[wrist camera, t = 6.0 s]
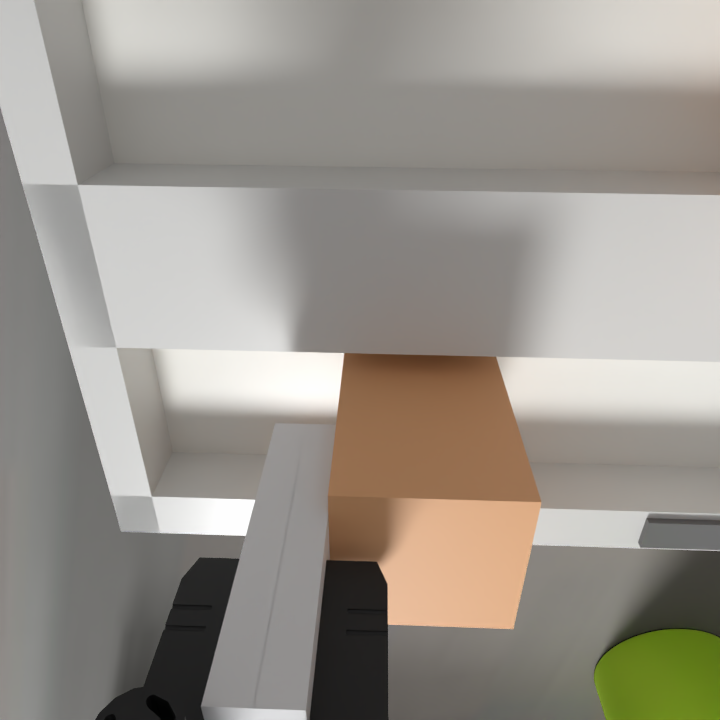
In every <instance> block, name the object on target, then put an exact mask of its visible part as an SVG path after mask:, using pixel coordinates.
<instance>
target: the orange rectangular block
mask: <svg viewBox="0 0 720 720" xmlns="http://www.w3.org/2000/svg"><path fill="white" fill-rule="evenodd" d="M541 503H542V502H541V499H540V496H539V492H538V489H537V486H536V483H535V480H534V476H533V473H532V470H531V467H530V464H529V460H528V457H527V454H526V451H525V448H524V444H523V441H522V438H521V435H520V432H519V428H518V425H517V422H516V419H515V416H514V413H513V409H512V406H511V403H510V400H509V397H508V393H507V390H506V387H505V384H504V381H503V377H502V374H501V371H500V368H499V365H498V361H497V358H496V357H488V356H446V355H403V354H361V353H344V360H343V369H342V377H341V386H340V395H339V403H338V412H337V421H336V429H335V438H334V447H333V455H332V464H331V473H330V481H329V490H328V519H329V550H330V560H340V561H372V562H377V563H378V565H379V567H380V569H381V571H382V573H383V575H384V578H385V580H386V582H387V584H388V625H415V626H443V627H471V628H498V629H513V628H514V623H515V619H516V615H517V610H518V606H519V601H520V597H521V592H522V588H523V583H524V579H525V574H526V570H527V565H528V561H529V556H530V552H531V548H532V543H533V539H534V534H535V530H536V525H537V521H538V516H539V512H540V507H541Z"/></svg>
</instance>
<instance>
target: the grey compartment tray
mask: <svg viewBox="0 0 720 720" xmlns="http://www.w3.org/2000/svg"><path fill="white" fill-rule="evenodd" d="M0 107H1V111H2V114H3V118H4V121H5V125H6V128H7V132H8V135H9V139H10V142H11V146H12V149H13V153H14V157H15V160H16V164H17V167H18V171H19V174H20V178H21V181H22V185H23V188H24V192H25V195H26V199H27V202H28V206H29V209H30V213H31V216H32V220H33V223H34V227H35V230H36V234H37V237H38V241H39V244H40V248H41V251H42V255H43V258H44V262H45V265H46V269H47V272H48V276H49V279H50V283H51V286H52V290H53V294H54V297H55V301H56V304H57V308H58V311H59V315H60V318H61V322H62V325H63V329H64V332H65V336H66V339H67V343H68V346H69V350H70V353H71V357H72V360H73V364H74V367H75V371H76V374H77V378H78V381H79V385H80V388H81V392H82V395H83V399H84V402H85V406H86V409H87V413H88V416H89V420H90V424H91V427H92V431H93V434H94V438H95V441H96V445H97V448H98V452H99V455H100V459H101V462H102V466H103V469H104V473H105V476H106V480H107V483H108V487H109V490H110V494H111V497H112V501H113V504H114V508H115V511H116V515H117V518H118V522H119V525H120V529H121V532H147V533H178V534H209V535H240V536H246V533H247V529H248V525H249V521H250V517H251V514H252V510H253V506H254V502H255V498H256V494H257V491H258V487H259V483H260V479H261V475H262V472H263V468H264V464H265V460H266V456H267V453H268V449H269V445H270V441H271V437H272V434H273V430H274V426H275V423H287V424H329V425H336V421H337V412H338V403H339V395H340V386H341V377H342V369H343V360H344V353H361V354H403V355H446V356H488V357H496V358H497V361H498V365H499V368H500V371H501V374H502V377H503V381H504V384H505V387H506V390H507V393H508V397H509V400H510V403H511V406H512V409H513V413H514V416H515V419H516V422H517V425H518V428H519V432H520V435H521V438H522V441H523V444H524V448H525V451H526V454H527V457H528V460H529V464H530V467H531V470H532V473H533V476H534V480H535V483H536V486H537V489H538V492H539V496H540V499H541V502H542V503H541V507H540V512H539V516H538V521H537V525H536V530H535V534H534V539H533V543H532V545H552V546H583V547H614V548H645V549H676V550H707V551H720V0H0Z"/></svg>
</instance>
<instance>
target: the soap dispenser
mask: <svg viewBox="0 0 720 720" xmlns="http://www.w3.org/2000/svg"><path fill="white" fill-rule="evenodd" d="M594 682H595V685H596V689H597V692H598V695H599V698H600V702H601V705H602V708H603V711H604V715H605V718H606V720H720V638H719V637H717V636H715V635H712V634H710V633H706V632H702V631H697V630H690V629H666V630H659V631H653V632H649V633H645V634H641V635H638V636H635V637H633V638H630V639H628V640H626V641H624V642H622V643H620V644H618V645H617V646H615V647H614V648H612V649H611V650H610V651H608V652H607V653H606V654H605V655H604V656H603V657H602V658H601V660H600V661H599V662H598V664H597V666H596V669H595V672H594Z"/></svg>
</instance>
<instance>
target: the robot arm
mask: <svg viewBox="0 0 720 720" xmlns="http://www.w3.org/2000/svg"><path fill="white" fill-rule="evenodd" d="M335 429H336V425H329V424H287V423H275V426H274V430H273V434H272V437H271V441H270V445H269V449H268V453H267V456H266V460H265V464H264V468H263V472H262V475H261V479H260V483H259V487H258V491H257V494H256V498H255V502H254V506H253V510H252V514H251V517H250V521H249V525H248V529H247V533H246V536H245V540H244V544H243V548H242V552H241V555H240V559H229V558H199V559H198V560H197V561H196V563H195V564H194V565H193V566H192V567H191V569H190V570H189V571H188V572H187V573H186V574H185V576H184V577H183V578H182V579H181V582H180V585H179V588H178V591H177V594H176V596H175V599H174V602H173V608H172V609H171V611H170V613H169V616H168V619H167V622H166V625H165V626H166V627H165V630H163V633H162V636H161V639H160V642H159V645H158V647H157V650H156V653H155V656H154V659H153V661H152V664H151V667H150V670H149V673H148V676H147V678H146V681H145V684H144V687H140V688H134V689H132V690H130V691H128V692H126V693H124V694H122V695H120V696H118V697H116V698H115V699H114V700H113V701H111V702H110V703H109V704H108V705H107V706H106V707H105V708H104V709H103V710H102V711H101V712H100V713H99V714H98V716H97V718H96V719H95V720H388V584H387V582H386V580H385V578H384V575H383V573H382V571H381V569H380V567H379V565H378V563H377V562H372V561H340V560H330V550H329V519H328V490H329V481H330V473H331V464H332V455H333V447H334V438H335Z"/></svg>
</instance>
